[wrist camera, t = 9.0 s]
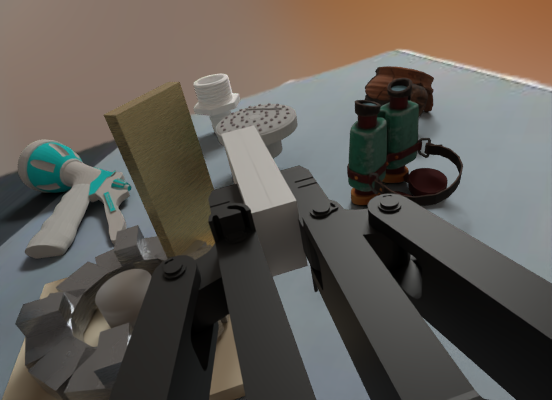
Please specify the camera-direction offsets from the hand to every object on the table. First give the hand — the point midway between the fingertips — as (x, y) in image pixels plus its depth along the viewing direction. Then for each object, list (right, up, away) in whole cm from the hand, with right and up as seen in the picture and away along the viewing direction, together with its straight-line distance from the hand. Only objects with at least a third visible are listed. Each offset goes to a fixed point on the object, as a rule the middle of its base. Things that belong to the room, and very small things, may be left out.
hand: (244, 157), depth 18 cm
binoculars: (+14, -2, +20) cm, 25 cm away
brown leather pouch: (+18, +8, +35) cm, 40 cm away
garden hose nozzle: (-23, -3, +32) cm, 39 cm away
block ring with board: (-8, -10, +13) cm, 18 cm away
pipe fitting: (-7, +9, +44) cm, 45 cm away
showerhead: (0, +2, +31) cm, 31 cm away
